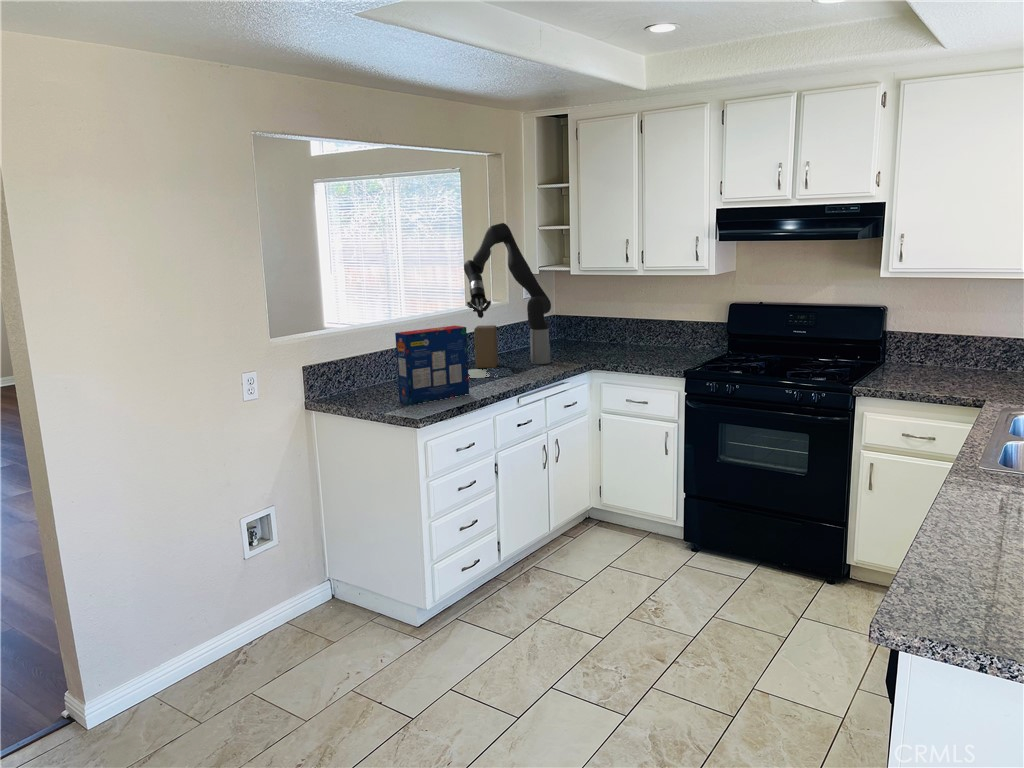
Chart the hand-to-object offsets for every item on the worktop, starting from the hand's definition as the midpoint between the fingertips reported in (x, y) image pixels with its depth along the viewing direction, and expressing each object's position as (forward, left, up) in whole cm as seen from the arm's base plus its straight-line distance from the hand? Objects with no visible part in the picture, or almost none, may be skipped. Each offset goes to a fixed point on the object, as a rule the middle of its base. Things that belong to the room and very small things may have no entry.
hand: (480, 316), depth 391 cm
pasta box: (+30, +83, -23) cm, 91 cm away
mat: (+1, +35, -23) cm, 42 cm away
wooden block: (0, +18, -23) cm, 29 cm away
